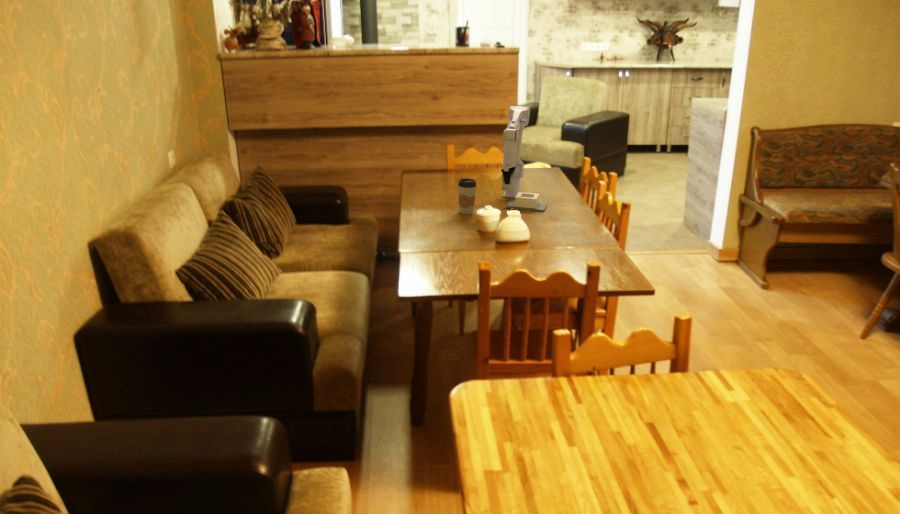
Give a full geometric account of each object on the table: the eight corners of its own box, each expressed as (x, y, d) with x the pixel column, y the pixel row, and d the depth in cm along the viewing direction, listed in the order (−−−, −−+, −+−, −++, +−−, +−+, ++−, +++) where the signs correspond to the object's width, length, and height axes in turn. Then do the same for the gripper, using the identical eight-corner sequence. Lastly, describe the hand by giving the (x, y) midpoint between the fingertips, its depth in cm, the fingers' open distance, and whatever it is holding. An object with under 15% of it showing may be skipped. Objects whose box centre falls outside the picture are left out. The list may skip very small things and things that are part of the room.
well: (510, 201, 334) (510, 190, 332) (547, 205, 330) (548, 194, 328) (505, 208, 323) (506, 196, 321) (544, 212, 319) (544, 200, 317)
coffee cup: (453, 213, 313) (454, 181, 308) (462, 208, 320) (463, 177, 315) (470, 216, 310) (471, 183, 304) (478, 211, 317) (479, 179, 311)
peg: (503, 188, 330) (504, 171, 327) (511, 188, 329) (512, 172, 326) (501, 190, 326) (502, 173, 323) (509, 190, 325) (510, 174, 322)
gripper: (504, 150, 329) (502, 178, 334) (498, 156, 316) (496, 185, 320) (518, 152, 327) (516, 180, 332) (513, 158, 314) (511, 187, 319)
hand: (507, 183), depth 326 cm, fingers closed on peg, 4 cm apart
